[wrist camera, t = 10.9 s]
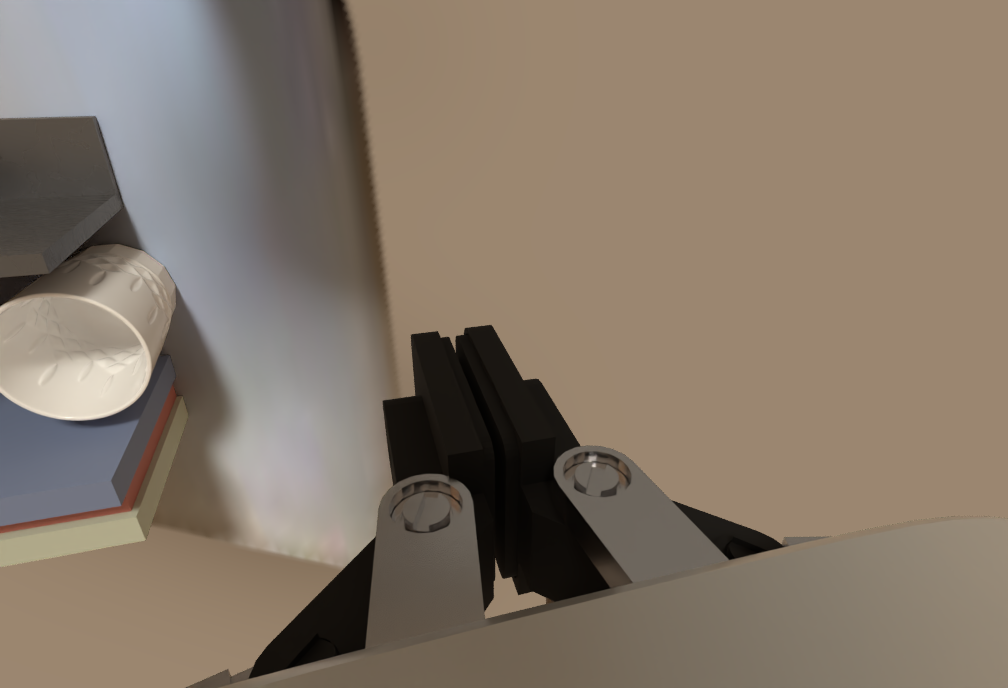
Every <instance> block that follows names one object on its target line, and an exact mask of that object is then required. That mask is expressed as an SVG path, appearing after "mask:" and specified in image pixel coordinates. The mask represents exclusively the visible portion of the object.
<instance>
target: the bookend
mask: <svg viewBox="0 0 1008 688" xmlns="http://www.w3.org/2000/svg"><path fill="white" fill-rule="evenodd" d="M122 208H123V203H122V200H121V197H120V194H119V190H118V187H117V184H116V181H115V178H114V174H113V171H112V168H111V165H110V162H109V158H108V155H107V152H106V149H105V145H104V142H103V139H102V136H101V133H100V129H99V126H98V123H97V120H96V117H95V116H79V117H40V118H1V119H0V278H1V277H13V276H26V275H38V274H50V273H51V272H52V271H53V270H54V269H55V268H56V267H57V266H58V265H60V264H61V263H62V262H63V261H64V260H65V259H66V258H67V257H68V256H70V255H71V254H72V253H73V252H74V251H75V250H76V249H77V248H78V247H80V246H81V245H82V244H83V243H84V242H85V241H86V240H87V239H88V238H90V237H91V236H92V235H93V234H94V233H95V232H96V231H97V230H98V229H100V228H101V227H102V226H103V225H104V224H105V223H106V222H107V221H108V220H110V219H111V218H112V217H113V216H114V215H115V214H116V213H117V212H118V211H120V210H121V209H122Z"/></svg>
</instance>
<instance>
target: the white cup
mask: <svg viewBox="0 0 1008 688" xmlns="http://www.w3.org/2000/svg"><path fill="white" fill-rule="evenodd" d="M175 307H176V287H175V284H174V282H173V280H172V279H171V277H170V275H169V274H168V272H167V270H166V269H165V267H164V266H163V265H162V264H160V263H159V262H158V261H156V260H155V259H154V258H152V257H151V256H150V255H148V254H147V253H145V252H144V251H142V250H138V249H134V248H131V247H127V246H124V245H120V244H109V245H97V246H91V247H89V248H87V249H86V250H84V251H82V252H81V253H79V254H77V255H75V256H74V257H72V258H70V259H69V260H68V261H65V262H62V263H61V264H60V265H58V266H57V267H56V268H55V269H54V270H53V271H52V272H51V273H50V274H45V275H43V276H42V277H40V278H38V279H37V280H35V281H34V282H33V283H31V284H30V285H29V286H27V287H26V288H25V289H23V290H22V291H21V292H19V293H18V294H17V295H15V296H14V297H13V298H11V299H10V300H9V301H7V302H6V303H4V304H3V305H2V306H0V393H1V394H3V395H4V396H5V397H6V398H8V399H9V400H10V401H12V402H14V403H15V404H17V405H19V406H20V407H22V408H24V409H27V410H29V411H31V412H34V413H36V414H39V415H42V416H46V417H50V418H55V419H61V420H71V421H85V420H94V419H100V418H104V417H108V416H111V415H113V414H116V413H118V412H120V411H122V410H124V409H126V408H127V407H129V406H130V405H132V404H133V403H134V402H135V401H136V400H137V399H138V398H139V397H140V396H141V395H142V394H143V392H144V391H145V389H146V387H147V385H148V383H149V381H150V378H151V375H152V373H153V370H154V368H155V365H156V363H157V360H158V358H159V355H160V353H161V350H162V347H163V345H164V342H165V339H166V335H167V333H168V330H169V327H170V322H171V317H172V314H173V312H174V310H175Z"/></svg>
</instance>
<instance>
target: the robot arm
mask: <svg viewBox="0 0 1008 688" xmlns="http://www.w3.org/2000/svg"><path fill="white" fill-rule="evenodd" d="M411 346H412V358H413V371H414V382H415V396H412V397H405V398H398V399H391V400H384V401H383V410H384V419H385V428H386V436H387V444H388V452H389V460H390V467H391V474H392V480H393V487H391V488H390V489H389V490H388V491H387V493H386V494H385V495H384V496H383V498H382V500H381V503H380V506H379V510H378V521H377V531H376V537H375V538H374V539H373V540H372V541H371V542H370V543H369V544H368V545H367V546H366V547H365V548H364V549H363V550H362V551H361V552H360V553H359V554H358V555H357V556H356V557H355V558H354V559H353V560H352V561H351V562H350V563H349V564H348V565H347V566H346V567H345V568H344V569H343V570H342V571H341V572H340V573H339V574H338V575H337V576H336V577H335V578H334V579H333V580H332V581H331V582H330V583H329V584H328V586H326V587H325V588H324V589H323V590H322V591H321V593H319V594H318V595H317V596H316V597H315V598H314V599H313V600H312V601H311V602H310V603H309V604H308V606H306V607H305V609H303V610H302V611H301V613H299V614H298V616H297V617H296V618H295V619H294V620H293V621H292V622H291V623H290V624H289V625H288V626H287V627H286V628H285V629H284V630H283V631H282V632H281V633H280V634H279V635H278V636H277V637H276V638H275V639H274V640H273V641H272V642H271V643H270V644H269V645H268V646H267V647H266V649H265V650H264V651H263V652H262V654H261V655H260V656H259V657H258V659H257V660H256V662H255V665H254V667H252V668H250V669H247V670H245V671H243V672H240V673H238V674H236V675H234V676H231V675H230V673H229V670H228V669H227V670H225V671H222V672H220V673H218V674H216V675H213V676H211V677H209V678H206V679H204V680H202V681H200V682H197V683H195V684H193V685H190V686H188V687H186V688H1008V518H1000V517H988V516H951V517H941V518H932V519H923V520H922V519H921V520H914V521H908V522H904V523H898V524H892V525H887V526H881V527H875V528H870V529H865V530H860V531H856V532H852V533H847V534H842V535H838V536H830V537H784V539H783V542H782V544H780V543H779V542H777V541H776V540H774V539H773V538H771V537H769V536H767V535H765V534H762V533H760V532H758V531H756V530H752V529H750V528H747V527H744V526H742V525H739V524H736V523H733V522H731V521H728V520H725V519H722V518H719V517H717V516H714V515H711V514H708V513H705V512H703V511H700V510H697V509H694V508H691V507H688V506H686V505H683V504H680V503H678V502H675V501H672V500H670V499H669V498H668V497H667V496H666V495H665V494H664V492H662V490H661V489H660V488H659V487H658V486H657V485H656V484H655V483H654V482H653V481H652V480H651V479H650V478H649V477H648V476H647V475H646V474H645V473H644V472H643V471H642V470H641V469H640V468H639V467H638V466H637V465H636V464H635V463H634V462H633V461H632V460H631V459H629V458H628V457H627V456H626V455H624V454H622V453H620V452H618V451H616V450H613V449H611V448H606V447H602V446H580V444H579V443H578V441H577V440H576V438H575V436H574V435H573V433H572V432H571V430H570V428H569V427H568V425H567V423H566V422H565V420H564V418H563V417H562V415H561V414H560V412H559V410H558V409H557V407H556V406H555V404H554V402H553V401H552V399H551V398H550V396H549V394H548V393H547V391H546V389H545V388H544V386H543V385H542V383H541V382H540V381H539V379H530V380H523V379H522V377H521V376H520V374H519V372H518V370H517V368H516V367H515V365H514V363H513V361H512V360H511V358H510V356H509V354H508V353H507V351H506V349H505V347H504V346H503V344H502V342H501V341H500V339H499V337H498V335H497V333H496V332H495V330H494V328H493V327H492V325H487V326H478V327H471V328H465V330H464V335H460V336H456V353H455V350H454V348H453V345H452V343H451V341H450V338H449V337H443V338H440V335H439V333H438V331H437V332H428V333H419V334H412V335H411ZM495 558H496V561H497V564H498V568H499V571H500V573H501V576H502V578H504V579H505V578H509V577H512V578H513V582H514V584H515V587H516V590H517V593H518V595H520V594H524V593H529V592H535V593H538V594H540V595H542V596H544V597H546V604H545V605H541V606H537V607H532V608H529V609H524V610H520V611H516V612H512V613H508V614H504V615H500V616H496V617H492V618H487V619H485V615H484V612H485V610H486V608H487V607H488V606H489V604H490V603H491V601H492V600H493V598H494V588H493V587H494V581H495Z"/></svg>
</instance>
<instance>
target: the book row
mask: <svg viewBox="0 0 1008 688" xmlns="http://www.w3.org/2000/svg"><path fill="white" fill-rule="evenodd" d="M175 377H176V374H175V370H174V367H173V364H172V361H171V358H170V355H165V356H159V358H158V360H157V363H156V365H155V368H154V370H153V373H152V375H151V378H150V381H149V383H148V385H147V387H146V389H145V391H144V392H143V394H142V395H141V396H140V397H139V398H138V399H137V400H136V401H135V402H134V403H133V404H132V405H130V406H129V407H127V408H126V409H124V410H122V411H120V412H118V413H116V414H113V415H111V416H108V417H104V418H100V419H94V420H85V421H71V420H61V419H55V418H50V417H46V416H42V415H39V414H36V413H34V412H31V411H29V410H27V409H24V408H22V407H20V406H19V405H17V404H15V403H14V402H12V401H10V400H9V399H8V398H6V397H5V396H4V395H3V394H1V393H0V567H4V566H9V565H14V564H20V563H26V562H31V561H37V560H42V559H48V558H53V557H58V556H64V555H69V554H75V553H80V552H86V551H91V550H97V549H102V548H107V547H113V546H119V545H124V544H130V543H135V542H140V541H146V538H147V536H148V533H149V530H150V527H151V524H152V521H153V518H154V515H155V512H156V509H157V507H158V504H159V501H160V498H161V495H162V492H163V489H164V486H165V483H166V480H167V478H168V475H169V472H170V469H171V466H172V463H173V460H174V457H175V454H176V451H177V449H178V446H179V443H180V440H181V437H182V434H183V431H184V428H185V425H186V422H187V419H188V417H189V415H188V412H187V409H186V406H185V403H184V399H183V396H176V393H175V390H174V387H173V382H174V380H175Z"/></svg>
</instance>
